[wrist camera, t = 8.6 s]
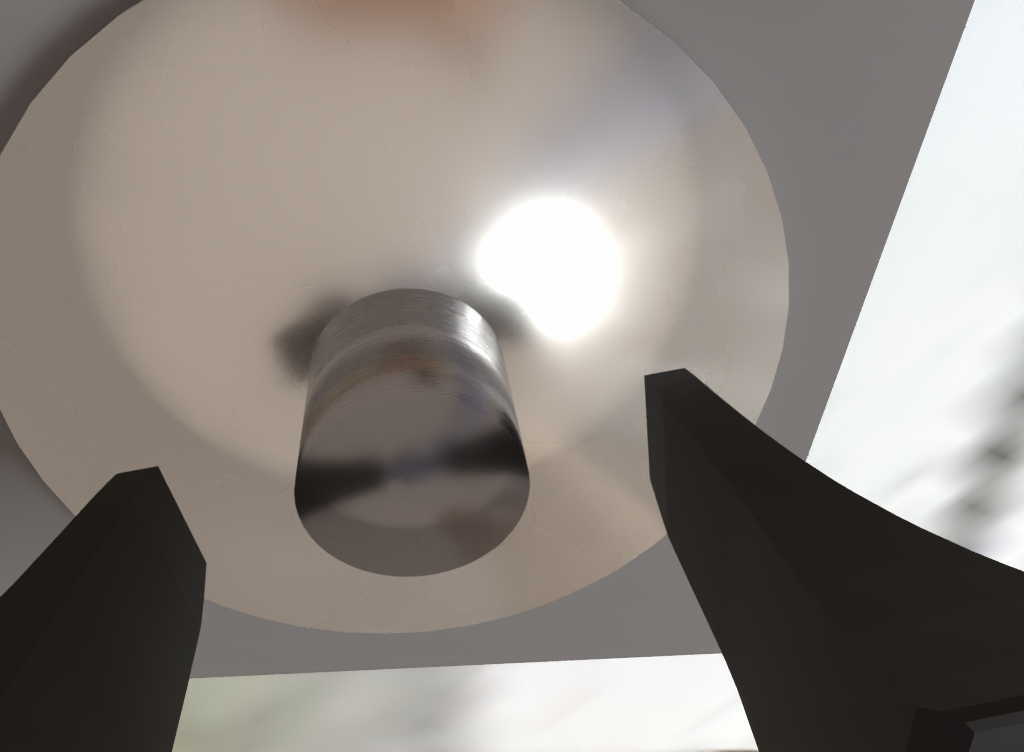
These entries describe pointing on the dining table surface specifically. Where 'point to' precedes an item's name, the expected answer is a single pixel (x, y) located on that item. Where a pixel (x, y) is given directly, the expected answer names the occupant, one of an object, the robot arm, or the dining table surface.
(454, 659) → the charcoal mat
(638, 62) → the steel lid
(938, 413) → the dining table surface
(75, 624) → the robot arm
